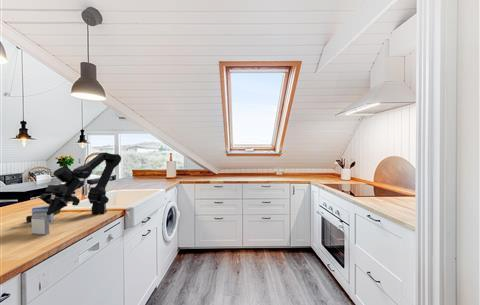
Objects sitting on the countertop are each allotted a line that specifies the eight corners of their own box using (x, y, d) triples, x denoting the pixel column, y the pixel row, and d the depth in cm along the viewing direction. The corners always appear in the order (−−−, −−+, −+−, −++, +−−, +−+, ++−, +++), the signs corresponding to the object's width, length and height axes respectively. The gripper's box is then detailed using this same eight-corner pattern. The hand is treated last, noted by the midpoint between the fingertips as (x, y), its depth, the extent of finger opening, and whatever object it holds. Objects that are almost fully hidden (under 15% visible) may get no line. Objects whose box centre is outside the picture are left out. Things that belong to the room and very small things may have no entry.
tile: (35, 232, 102) (34, 216, 102) (49, 234, 101) (48, 217, 101) (31, 234, 101) (30, 218, 101) (45, 235, 99) (44, 218, 99)
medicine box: (31, 225, 113) (31, 208, 113) (34, 222, 117) (34, 206, 117) (51, 222, 117) (50, 206, 117) (53, 220, 121) (53, 204, 121)
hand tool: (32, 223, 117) (32, 214, 117) (25, 223, 117) (25, 214, 117) (64, 213, 136) (64, 205, 136) (58, 213, 136) (58, 205, 136)
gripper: (43, 178, 111) (17, 205, 100) (74, 178, 108) (51, 206, 97) (59, 190, 119) (36, 217, 108) (88, 191, 115) (68, 219, 104)
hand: (47, 214), depth 104 cm, fingers closed
